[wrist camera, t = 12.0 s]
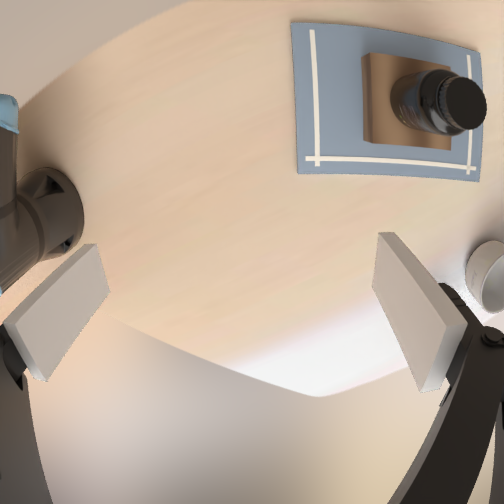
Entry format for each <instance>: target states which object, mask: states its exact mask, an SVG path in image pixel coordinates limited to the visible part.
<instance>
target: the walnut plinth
mask: <svg viewBox="0 0 504 504" xmlns="http://www.w3.org/2000/svg"><path fill="white" fill-rule="evenodd" d="M438 68H443V69H448V70H451V67H450V66H446V65H441V64H437V63H432V62H428V61H423V60H418V59H412V58H406V57H400V56H394V55H387V54H380V53H372V52H369V53H368V54H366V55H364V56H363V57H361V69H362V90H363V140H364V141H367V142H370V143H372V144H388V145H402V146H413V147H423V148H433V149H441V150H449V151H451V139H452V137H448V136H441V135H437V134H433V133H428V132H424V131H419V130H415V129H411V128H409V127H407V126H405V125H403V124H402V123H401V122H400V121H399V120H398V119H397V118H396V116H395V114H394V113H393V111H392V108H391V104H390V92H391V89H392V86H393V85H394V83H395V82H396V81H397V80H398V79H399V78H400V77H402V76H405V75H408V74H412V73H416V72H421V71H426V70H431V69H438Z"/></svg>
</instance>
